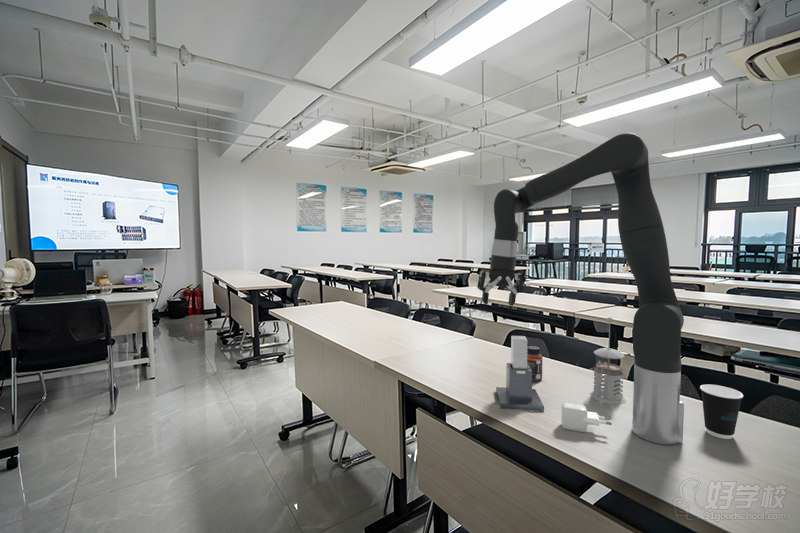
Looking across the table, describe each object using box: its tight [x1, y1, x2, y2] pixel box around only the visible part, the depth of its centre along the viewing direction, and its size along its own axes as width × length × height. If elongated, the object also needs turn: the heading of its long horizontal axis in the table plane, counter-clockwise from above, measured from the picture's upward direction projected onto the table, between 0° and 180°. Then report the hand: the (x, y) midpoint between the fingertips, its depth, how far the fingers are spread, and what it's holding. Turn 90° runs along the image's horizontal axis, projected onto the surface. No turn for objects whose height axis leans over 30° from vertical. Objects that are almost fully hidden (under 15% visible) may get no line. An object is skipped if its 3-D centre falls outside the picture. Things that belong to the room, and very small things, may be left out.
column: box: [510, 335, 528, 370], centre depth 106 cm, size 4×4×18 cm
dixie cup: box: [699, 384, 744, 440], centre depth 87 cm, size 8×8×11 cm
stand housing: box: [495, 362, 545, 412], centre depth 107 cm, size 12×12×10 cm
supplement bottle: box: [527, 345, 543, 382], centre depth 124 cm, size 6×6×11 cm
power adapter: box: [561, 402, 613, 433], centre depth 90 cm, size 11×5×6 cm, turn 67°
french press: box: [589, 317, 627, 405], centre depth 108 cm, size 10×12×25 cm
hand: (498, 304), depth 113 cm, fingers open, 8 cm apart
